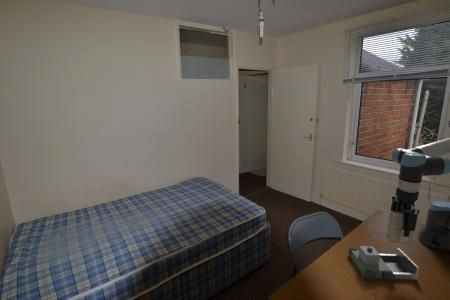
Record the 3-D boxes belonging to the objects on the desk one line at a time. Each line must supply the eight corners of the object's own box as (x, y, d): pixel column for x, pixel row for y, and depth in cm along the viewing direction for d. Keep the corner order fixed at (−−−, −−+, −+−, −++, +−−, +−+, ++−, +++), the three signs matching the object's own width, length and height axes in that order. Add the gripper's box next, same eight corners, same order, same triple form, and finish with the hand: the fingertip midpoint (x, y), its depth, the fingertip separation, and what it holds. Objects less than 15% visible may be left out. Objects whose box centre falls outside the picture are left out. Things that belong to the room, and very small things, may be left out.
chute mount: (397, 258, 112) (399, 248, 111) (417, 279, 99) (419, 268, 98) (373, 258, 113) (375, 247, 111) (390, 278, 100) (392, 267, 99)
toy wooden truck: (373, 255, 114) (376, 238, 112) (394, 281, 99) (398, 261, 96) (347, 255, 115) (350, 237, 113) (364, 280, 100) (367, 260, 97)
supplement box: (405, 237, 104) (410, 211, 101) (411, 244, 100) (417, 217, 96) (385, 235, 106) (389, 210, 103) (390, 242, 101) (395, 215, 98)
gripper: (385, 181, 106) (377, 225, 111) (414, 198, 88) (403, 251, 94) (402, 181, 105) (394, 226, 111) (434, 199, 88) (423, 251, 93)
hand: (398, 237), depth 102 cm, fingers closed on supplement box, 5 cm apart
